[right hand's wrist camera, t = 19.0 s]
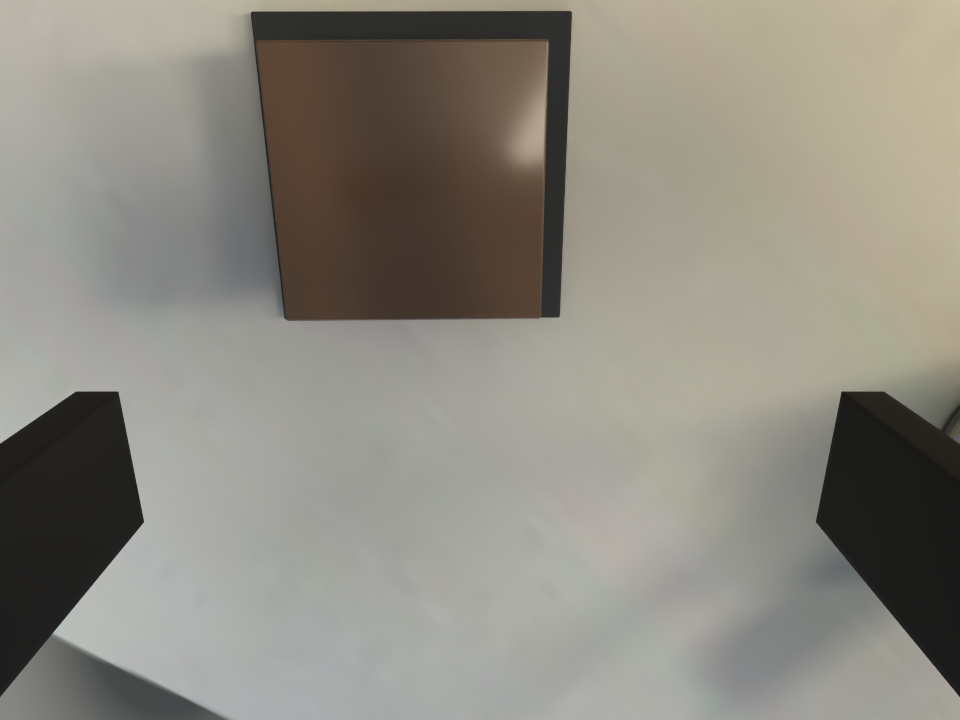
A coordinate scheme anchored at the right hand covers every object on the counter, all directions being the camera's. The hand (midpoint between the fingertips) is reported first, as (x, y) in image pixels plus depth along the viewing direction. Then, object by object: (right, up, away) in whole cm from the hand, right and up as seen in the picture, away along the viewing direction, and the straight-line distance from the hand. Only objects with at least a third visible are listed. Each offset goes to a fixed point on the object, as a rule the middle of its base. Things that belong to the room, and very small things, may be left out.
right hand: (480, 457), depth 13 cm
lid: (-3, +10, +19) cm, 22 cm away
